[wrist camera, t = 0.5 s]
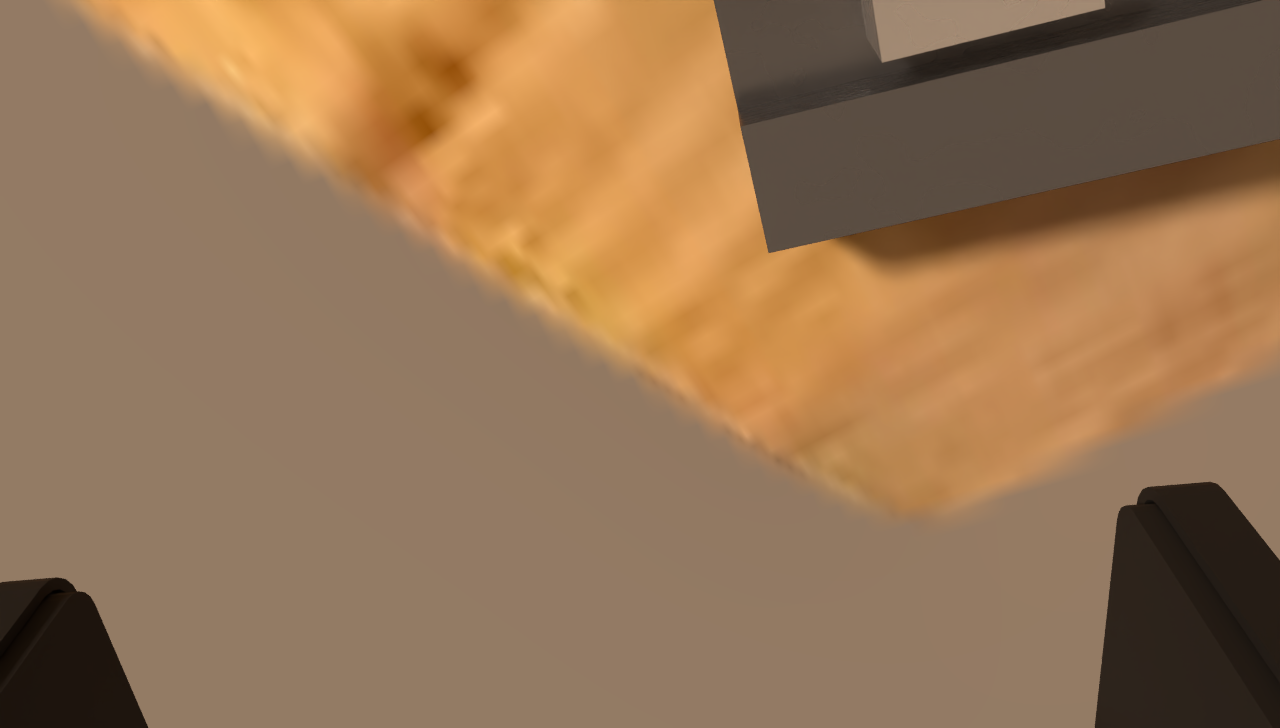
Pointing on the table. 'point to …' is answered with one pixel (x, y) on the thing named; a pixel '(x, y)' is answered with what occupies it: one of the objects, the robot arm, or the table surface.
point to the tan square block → (955, 21)
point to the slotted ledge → (985, 106)
